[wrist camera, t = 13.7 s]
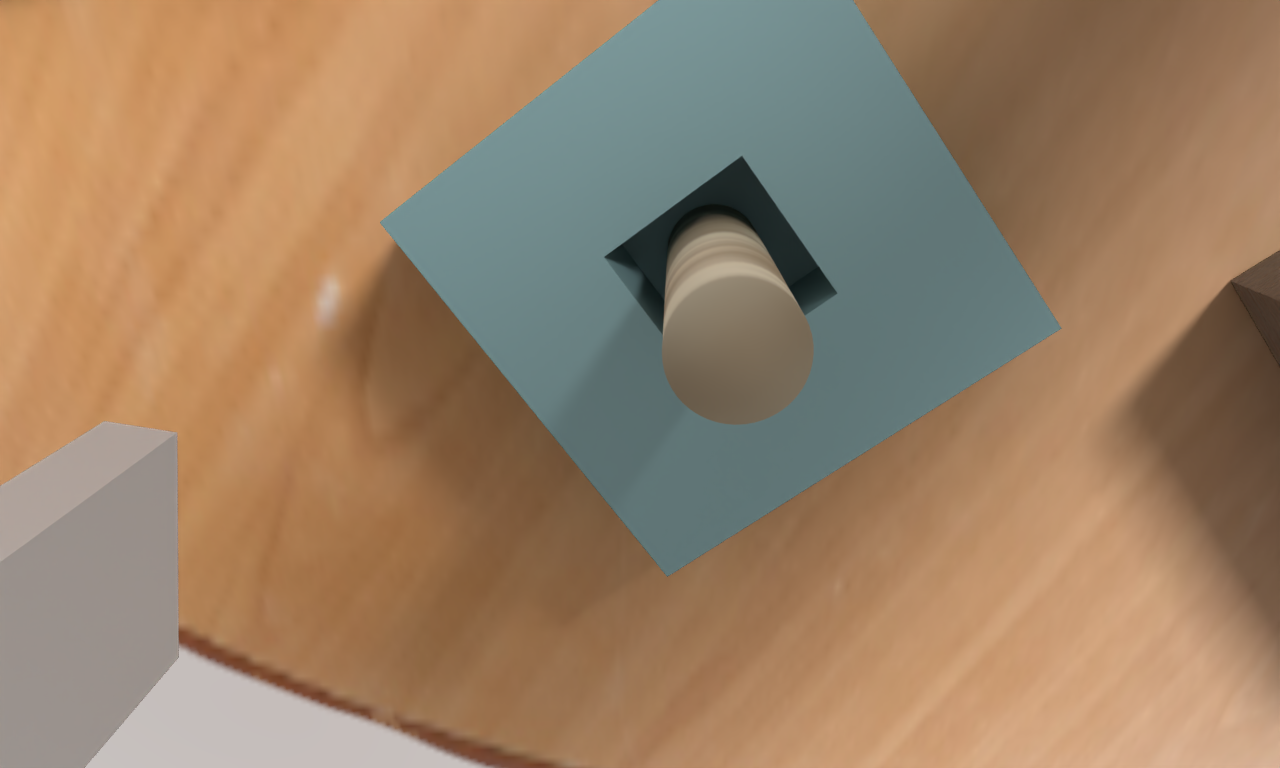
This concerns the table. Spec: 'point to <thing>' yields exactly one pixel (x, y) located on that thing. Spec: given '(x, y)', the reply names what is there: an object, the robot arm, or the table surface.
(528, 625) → the table surface
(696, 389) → the pin
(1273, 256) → the mount block
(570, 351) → the socket block
